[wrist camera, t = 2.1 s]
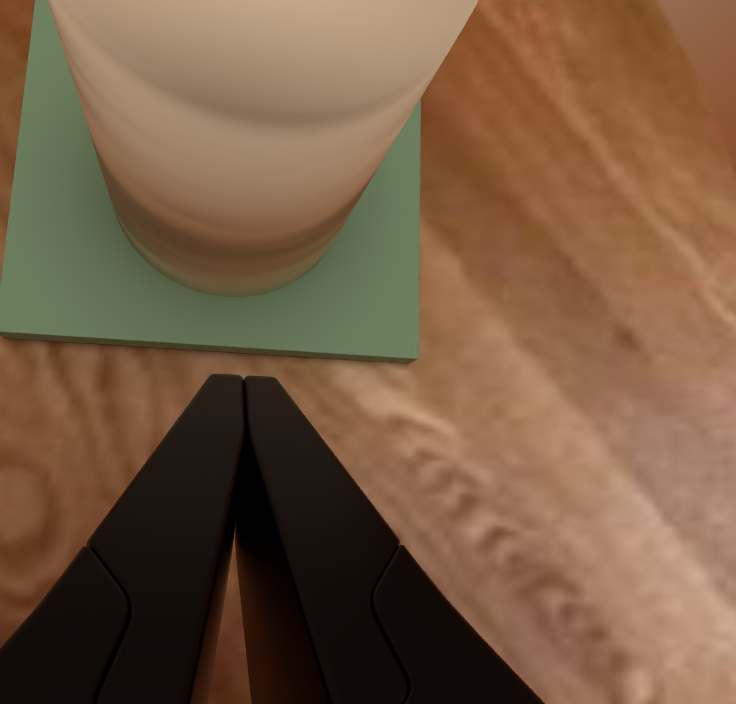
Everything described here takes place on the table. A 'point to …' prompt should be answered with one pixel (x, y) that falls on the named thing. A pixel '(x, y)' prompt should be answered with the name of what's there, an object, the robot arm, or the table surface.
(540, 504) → the table surface
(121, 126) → the birch cylinder
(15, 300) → the putting mat
